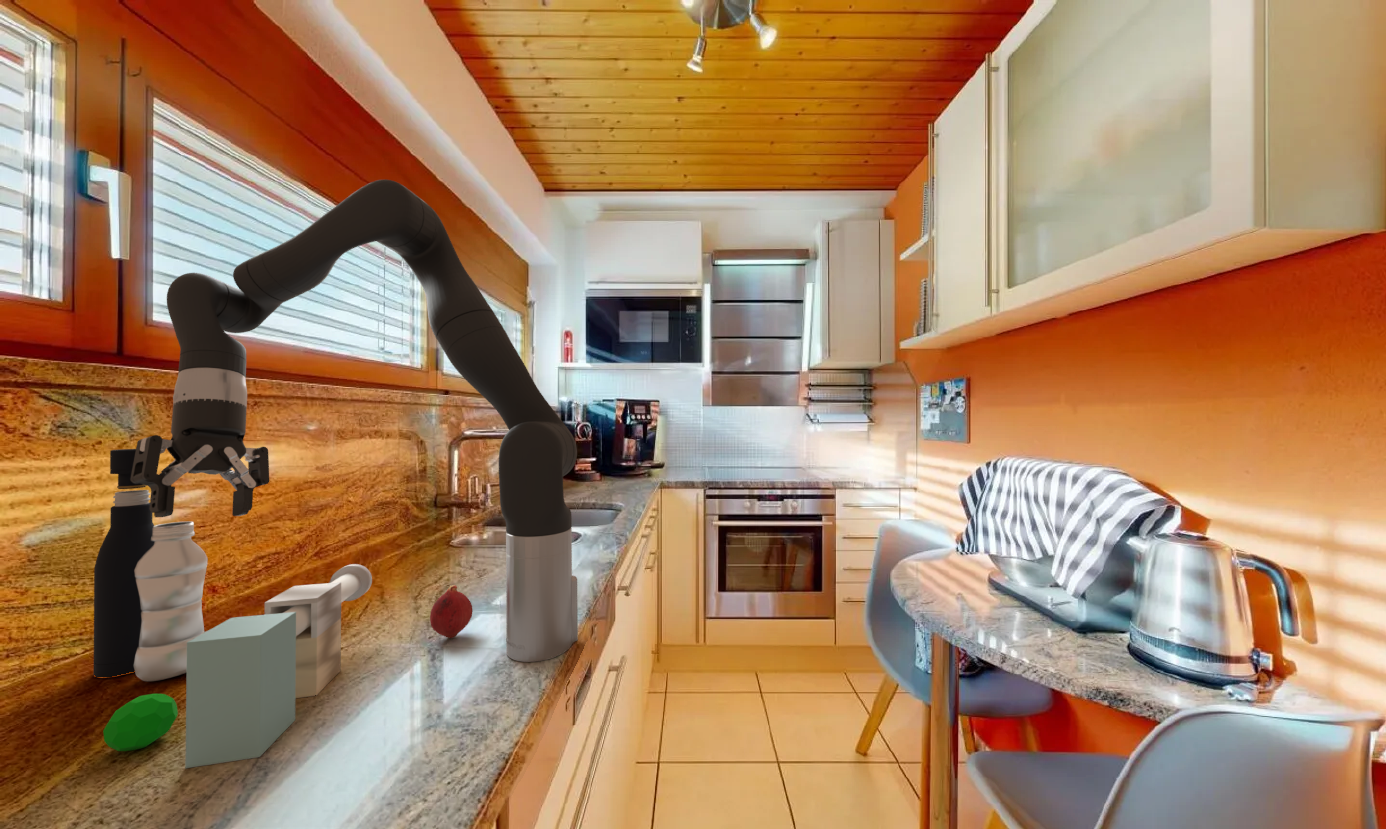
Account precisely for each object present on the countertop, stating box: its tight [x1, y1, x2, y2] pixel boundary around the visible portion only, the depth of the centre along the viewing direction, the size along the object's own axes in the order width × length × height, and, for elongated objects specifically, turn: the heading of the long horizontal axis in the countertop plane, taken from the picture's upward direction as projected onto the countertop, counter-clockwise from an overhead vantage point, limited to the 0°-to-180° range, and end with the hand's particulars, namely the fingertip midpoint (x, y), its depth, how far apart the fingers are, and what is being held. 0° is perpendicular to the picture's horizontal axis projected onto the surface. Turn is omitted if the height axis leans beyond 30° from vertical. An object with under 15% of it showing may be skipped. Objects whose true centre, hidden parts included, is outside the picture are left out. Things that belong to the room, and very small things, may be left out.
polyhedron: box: [102, 693, 179, 752], centre depth 48 cm, size 5×5×5 cm
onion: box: [429, 584, 474, 639], centre depth 72 cm, size 6×6×8 cm
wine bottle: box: [93, 448, 155, 677], centre depth 65 cm, size 6×6×30 cm
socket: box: [184, 612, 296, 769], centre depth 49 cm, size 6×6×12 cm
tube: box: [284, 563, 373, 636], centre depth 63 cm, size 18×5×5 cm, turn 14°
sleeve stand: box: [264, 582, 342, 699], centre depth 59 cm, size 6×5×12 cm
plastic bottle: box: [133, 521, 209, 682], centre depth 62 cm, size 6×7×20 cm
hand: (204, 515), depth 65 cm, fingers open, 8 cm apart
